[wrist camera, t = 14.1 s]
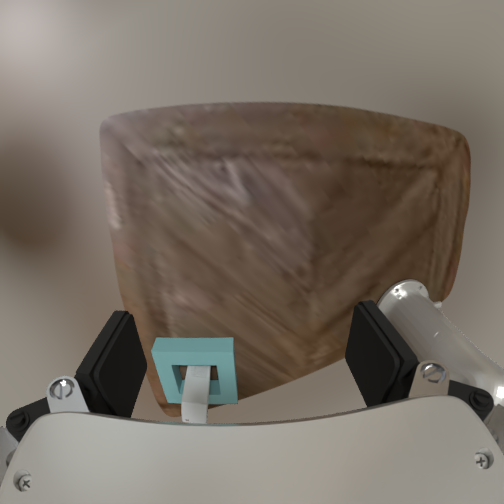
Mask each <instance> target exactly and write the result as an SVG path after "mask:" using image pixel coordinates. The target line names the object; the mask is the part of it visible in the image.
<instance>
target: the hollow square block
mask: <svg viewBox="0 0 504 504" xmlns="http://www.w3.org/2000/svg"><path fill="white" fill-rule="evenodd" d="M151 352H152V355H153V359H154V362H155V365H156V369H157V372H158V375H159V378H160V381H161V384H162V387H163V390H164V393H165V396H166V398H167V401H168V403H181V400H182V394H183V388H184V383H185V380H182V377H181V373H180V369H179V365H217V371H218V378H219V380H210V387H209V400H208V404H238V388H237V377H236V365H235V353H234V340H233V337H232V338H156V340H155V343H154V345H153V348H152V351H151Z"/></svg>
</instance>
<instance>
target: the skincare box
mask: <svg viewBox="0 0 504 504" xmlns="http://www.w3.org/2000/svg"><path fill="white" fill-rule="evenodd" d="M210 372H211V365H188V366H187V372H186V377H185V383H184V388H183V394H182V400H181V407H182V410H181V413H182V421H183V422H189V423H204V424H206V422H207V412H208V400H209V387H210Z"/></svg>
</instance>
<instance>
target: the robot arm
mask: <svg viewBox="0 0 504 504" xmlns="http://www.w3.org/2000/svg"><path fill="white" fill-rule="evenodd" d="M441 306H442V304H441V302H440V301H439V302H435V303H433V302H432V301H431V300H430V299H429V298H428V292H427V290H426V288H425V286H424V285H423V284H421V283H420V282H419V281H416V280H411V279H410V280H404V281H401V282H398V283H397V284H395V285H393V286H392V287H390V288H389V289H388V290H387V291H386V292H385V293H384V294H383V296H382V297H381V298H380V300H379V301H378V303H377V305H376V304H375V303H374V301H372V300H369V301H360V302H359V303H358V305H356V306H355V307H354V312H353V318H352V323H351V328H350V334H349V338H348V343H347V348H346V353H345V359H346V362H347V364H348V366H349V368H350V370H351V373H352V375H353V377H354V379H355V381H356V383H357V385H358V388H359V390H360V392H361V394H362V396H363V398H364V401H365V403H366V405H367V408H362V409H357V410H352V411H347V412H342V413H336V414H331V415H324V416H317V417H310V418H303V419H294V420H285V421H273V422H259V423H236V424H235V423H234V424H204V423H178V422H164V421H152V420H144V419H135V418H131V415H132V412H133V409H134V405H135V402H136V399H137V396H138V393H139V390H140V387H141V384H142V381H143V379H144V376H145V373H146V370H147V362H146V358H145V355H144V352H143V349H142V346H141V342H140V339H139V335H138V332H137V328H136V325H135V321H134V317H133V315H132V314H129V312H128V311H114V312H113V314H112V316H111V317H110V319H109V320H108V321H107V323H106V325H105V326H104V328H103V329H102V331H101V332H100V334H99V335H98V337H97V338H96V340H95V342H94V343H93V345H92V346H91V348H90V350H89V351H88V353H87V354H86V356H85V358H84V359H83V361H82V363H81V365H80V366H79V368H78V369H77V371H76V375H75V377H74V378H73V377H70V376H61V377H58V378H56V379H54V380H53V381H51V382H50V384H49V385H48V386H47V389H46V395H47V397H45V398H43V399H41V400H38V401H36V402H34V403H31V404H29V405H26V406H24V407H21V408H19V409H17V410H15V411H13V412H12V413H11V414H10V415H9V416H8V418H7V421H6V428H3V426H1V427H0V504H504V369H503V368H502V367H501V366H499V365H498V364H497V363H495V362H494V361H492V360H491V359H490V358H489V357H487V356H486V355H485V354H484V353H482V352H481V351H480V350H479V349H478V348H477V347H476V346H475V345H474V344H473V343H472V342H470V340H469V339H468V338H467V337H466V336H465V335H463V333H462V332H461V331H460V330H459V329H458V328H457V327H455V325H454V324H453V323H452V322H450V321H449V320H448V319H447V318H446V317H445V316H444V315H443V312H442V311H441V310H438V308H441Z"/></svg>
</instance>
